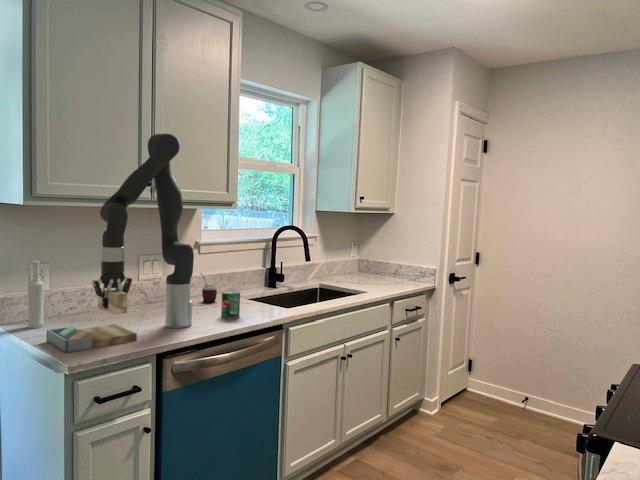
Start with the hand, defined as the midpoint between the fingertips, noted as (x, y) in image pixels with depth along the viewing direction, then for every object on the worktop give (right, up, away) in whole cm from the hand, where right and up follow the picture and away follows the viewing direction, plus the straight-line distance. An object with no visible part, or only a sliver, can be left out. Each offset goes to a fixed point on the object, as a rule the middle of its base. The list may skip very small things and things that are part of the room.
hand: (112, 307), depth 176 cm
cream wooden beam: (0, -1, 0) cm, 1 cm away
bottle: (-33, -9, +11) cm, 36 cm away
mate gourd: (+19, -7, +69) cm, 72 cm away
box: (-10, -11, -10) cm, 18 cm away
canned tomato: (+35, -10, +41) cm, 54 cm away
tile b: (-6, -10, -11) cm, 16 cm away
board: (-2, -11, -1) cm, 11 cm away
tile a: (-12, -9, -5) cm, 16 cm away
